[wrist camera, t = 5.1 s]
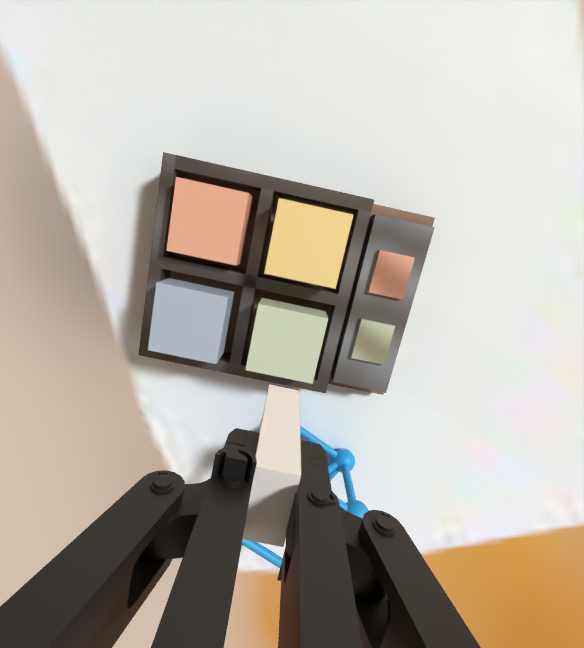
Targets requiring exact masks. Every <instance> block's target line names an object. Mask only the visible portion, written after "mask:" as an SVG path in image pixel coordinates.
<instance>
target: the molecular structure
mask: <svg viewBox="0 0 584 648" xmlns="http://www.w3.org/2000/svg"><path fill="white" fill-rule="evenodd" d="M300 435H301V436H302V437H304V438H305V439H307V440H308V441H310V442H312V443H317V444H320V445H321V446H322V447H323V449H324V450H325V451H326V453H327V454H329V455H330V456H331V457H333V459H332V462H333V463H331V464H329V465H328V469H329V476H330V481H331V480H332V478H333V477H334V476H335V475H336V474H337V473H338V472H342V473H343V478H344V483H345V488H346V493H347V498H348V502H347V503H345V502H343V501H342V500H340V499H339V498H338V501H339V505H340V507H342V508H343V509H344V510H346V511H348V512H350V513H352V514H354V515H356V516H358V517H361V518H363V515H364V514H365V513H366V512H367V511H368V508H367V507H366V506H365V504H363V503H362V502H361V501H358V500H356V496H355V492H354V488H353V484H352V479H351V475H350V470H352V468H353V467H354V464H355V458H354V456H353V454H352V453H351V452H350V451H349V450H347V449H339V450H337V451H335V450H334V449H333V448H331V447H330V446H328V445H327V444H325V443H324V442H322V441H321V440H320V439H318V438H317V437H315V436H314V435H312V434H311V433H310V432H308V431H307V430H305V429H304V428H302V427H301V426H300ZM242 545H244V546H245V547H247V548H248V549H250V550H252V551H253V552H255V553H256V554H258V555H260V556H261V557H263V558H264V559H266V560H268V561H269V562H271V563H272V564H274V565H276V566H277V567H279V568H280V567H281V563H282V560H283V558H281V557H279V556H278V555H276V554H275V553H273V552H272V551H270V550H268V549H267V548H265V547H264V546H262V545H260V544H259V543H257V542H255V541H249V540H244V539H242Z"/></svg>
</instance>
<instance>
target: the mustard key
mask: <svg viewBox="0 0 584 648" xmlns="http://www.w3.org/2000/svg"><path fill="white" fill-rule="evenodd" d="M352 219H353V214H348V213H344V212H340V211H335V210H331V209H326V208H322V207H317V206H313V205H308V204H304V203H299V202H295V201H290V200H286V199H281V198H279V200H278V205H277V211H276V216H275V221H274V226H273V231H272V236H271V241H270V246H269V252H268V257H267V262H266V267H265V272H264V274H269V275H274V276H278V277H283V278H288V279H292V280H297V281H302V282H306V283H311V284H316V285H320V286H325V287H330V288H334V289H336V285H337V281H338V277H339V273H340V268H341V264H342V260H343V256H344V252H345V248H346V244H347V240H348V235H349V231H350V227H351V223H352Z"/></svg>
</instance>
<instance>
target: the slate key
mask: <svg viewBox="0 0 584 648" xmlns="http://www.w3.org/2000/svg"><path fill="white" fill-rule="evenodd" d="M233 297H234V292H233V291H228V290H223V289H219V288H214V287H209V286H204V285H200V284H195V283H190V282H186V281H181V280H176V279H171V278H168V279H165V280H162V281H159V282H156V290H155V298H154V306H153V314H152V321H151V329H150V337H149V345H148V350H149V351H154V352H159V353H164V354H169V355H174V356H179V357H184V358H189V359H194V360H198V361H203V362H208V363H213V364H217V362H218V361H219V359H220V358H221V356H222V355H223V353H224V348H225V342H226V336H227V331H228V325H229V319H230V314H231V308H232V303H233Z"/></svg>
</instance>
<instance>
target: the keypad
mask: <svg viewBox="0 0 584 648" xmlns="http://www.w3.org/2000/svg"><path fill="white" fill-rule="evenodd" d="M176 177H179V178H184V179H188V180H193V181H197V182H202V183H206V184H211V185H215V186H220V187H224V188H229V189H233V190H238V191H242V192H247V193H249V194H250V195H251V196H252V197H253V202H252V208H251V213H250V219H249V225H248V230H247V236H246V241H245V247H244V253H243V258H242V263H241V264H239V265H231V264H226V263H222V262H217V261H212V260H208V259H203V258H198V257H194V256H189V255H184V254H180V253H175V252H170V251H166V250H167V243H168V235H169V227H170V220H171V212H172V204H173V197H174V189H175V181H176ZM279 198H281V199H286V200H290V201H295V202H299V203H304V204H308V205H313V206H317V207H322V208H326V209H331V210H335V211H340V212H344V213H348V214H353V219H352V223H351V227H350V231H349V235H348V240H347V244H346V248H345V252H344V256H343V260H342V264H341V268H340V273H339V277H338V281H337V285H336V289H334V288H330V287H325V286H320V285H316V284H311V283H306V282H302V281H297V280H292V279H288V278H283V277H278V276H274V275H269V274H264V272H265V267H266V262H267V257H268V252H269V246H270V241H271V236H272V231H273V226H274V221H275V216H276V211H277V205H278V200H279ZM373 203H374V200H373V199H369V198H364V197H360V196H355V195H351V194H346V193H342V192H338V191H333V190H329V189H324V188H320V187H315V186H311V185H306V184H302V183H298V182H293V181H289V180H284V179H280V178H275V177H271V176H267V175H262V174H258V173H253V172H249V171H244V170H240V169H235V168H231V167H227V166H222V165H218V164H213V163H209V162H204V161H200V160H196V159H191V158H187V157H182V156H178V155H173V154H169V153H164V152H163V159H162V167H161V175H160V183H159V192H158V200H157V208H156V216H155V225H154V233H153V241H152V249H151V258H150V266H149V274H148V282H147V291H146V299H145V307H144V315H143V324H142V332H141V340H140V348H139V355H141V356H145V357H150V358H155V359H160V360H165V361H170V362H175V363H180V364H185V365H190V366H195V367H200V368H204V369H209V370H214V371H219V372H224V373H229V374H234V375H239V376H244V377H249V378H254V379H259V380H263V381H268V382H273V383H278V384H283V385H288V386H293V387H298V388H303V389H308V390H313V391H318V392H322V393H326V389H327V385H328V383H329V384H333V385H338V386H343V387H348V388H353V389H358V390H363V391H368V392H373V393H377V394H382V395H383V393H386V391H387V387H388V384H389V380H390V377H391V374H392V370H393V367H394V363H395V360H396V357H397V353H398V350H399V346H400V343H401V340H402V336H403V333H404V329H405V326H406V323H407V319H408V316H409V312H410V309H411V306H412V302H413V299H414V295H415V292H416V289H417V285H418V282H419V278H420V275H421V272H422V268H423V265H424V261H425V258H426V255H427V251H428V248H429V244H430V241H431V238H432V234H433V231H434V227H432V226H433V222H434V219H435V218H433V217H429V216H425V215H420V214H416V213H411V212H407V211H402V210H398V209H393V208H389V207H385V206H380V205H376V204H373ZM168 278H171V279H176V280H181V281H186V282H190V283H195V284H200V285H204V286H209V287H214V288H219V289H223V290H228V291H233V292H234V297H233V303H232V308H231V314H230V319H229V325H228V331H227V336H226V342H225V348H224V353H223V355H222V356H221V358H220V359H219V361H218V362H217V364H213V363H208V362H203V361H198V360H194V359H189V358H184V357H179V356H174V355H169V354H164V353H159V352H154V351H149V350H148V345H149V337H150V329H151V321H152V314H153V306H154V298H155V290H156V282H159V281H162V280H165V279H168ZM261 298H266V299H270V300H275V301H280V302H285V303H289V304H294V305H299V306H303V307H308V308H313V309H318V310H322V311H325V312H326V314H327V316H328V322H327V326H326V330H325V335H324V339H323V343H322V347H321V351H320V355H319V359H318V363H317V368H316V372H315V376H314V380H313V384H311V383H306V382H301V381H296V380H291V379H287V378H282V377H277V376H272V375H267V374H262V373H257V372H252V371H247V370H246V365H247V360H248V354H249V349H250V344H251V339H252V334H253V329H254V324H255V318H256V313H257V308H258V304H259V302H260V300H261Z"/></svg>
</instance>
